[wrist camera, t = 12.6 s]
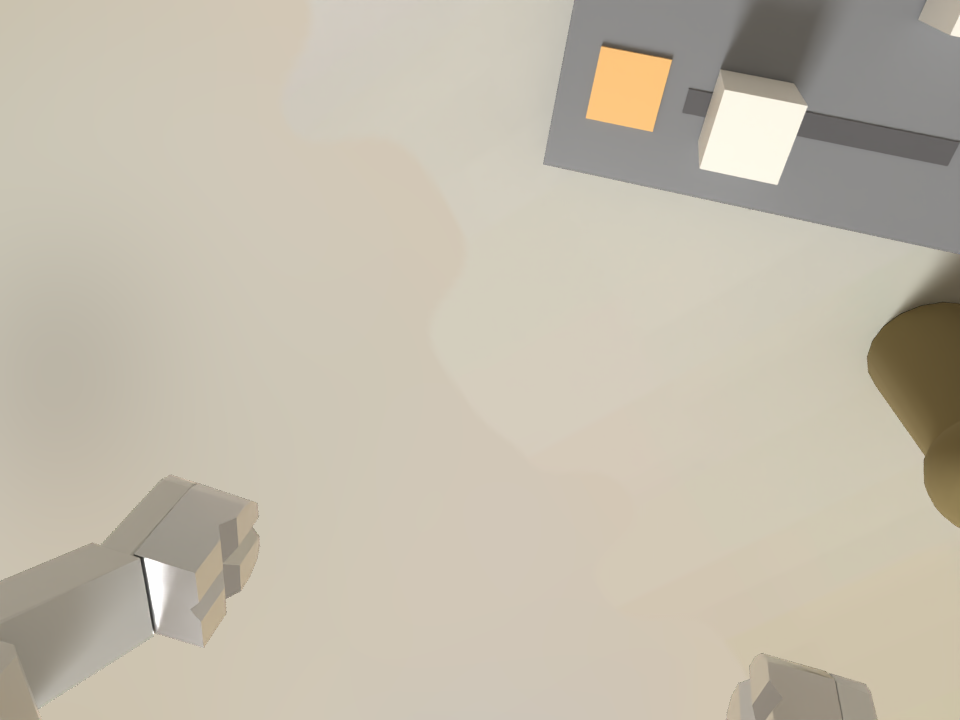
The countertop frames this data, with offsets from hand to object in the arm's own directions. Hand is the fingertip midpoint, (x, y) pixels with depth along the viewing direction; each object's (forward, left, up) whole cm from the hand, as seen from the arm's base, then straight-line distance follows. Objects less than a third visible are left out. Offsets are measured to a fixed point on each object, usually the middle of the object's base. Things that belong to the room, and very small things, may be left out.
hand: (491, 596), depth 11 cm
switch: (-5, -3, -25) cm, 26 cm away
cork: (-18, +7, -28) cm, 34 cm away
